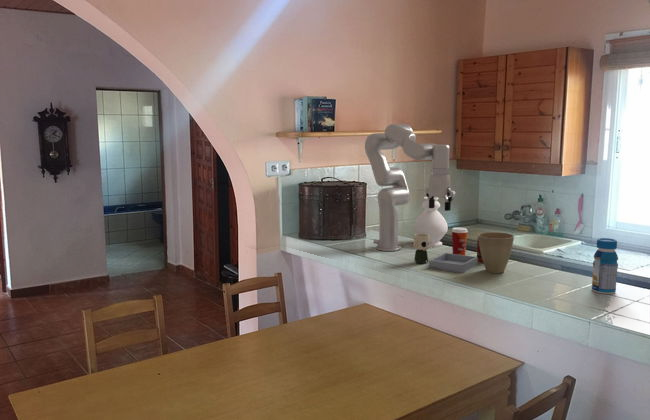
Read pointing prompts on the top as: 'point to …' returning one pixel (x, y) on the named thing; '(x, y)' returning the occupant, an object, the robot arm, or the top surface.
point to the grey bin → (453, 262)
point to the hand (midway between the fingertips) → (439, 209)
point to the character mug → (421, 247)
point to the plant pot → (495, 250)
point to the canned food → (479, 252)
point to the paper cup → (459, 240)
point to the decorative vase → (431, 223)
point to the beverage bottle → (605, 266)
